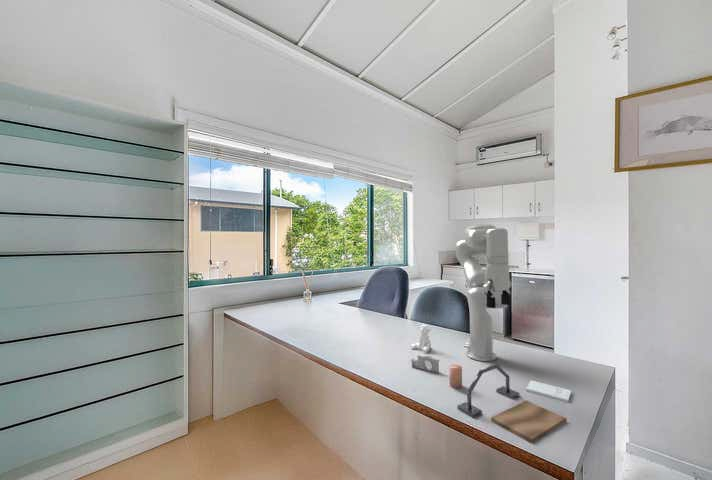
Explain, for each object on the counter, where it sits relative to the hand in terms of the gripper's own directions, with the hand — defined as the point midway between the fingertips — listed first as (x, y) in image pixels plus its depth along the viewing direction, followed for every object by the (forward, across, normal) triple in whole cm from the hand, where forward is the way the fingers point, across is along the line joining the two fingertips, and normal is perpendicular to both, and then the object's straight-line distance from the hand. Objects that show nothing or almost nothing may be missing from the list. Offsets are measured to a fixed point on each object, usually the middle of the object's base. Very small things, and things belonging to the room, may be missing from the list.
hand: (498, 306), depth 119 cm
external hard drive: (+29, -6, +14) cm, 33 cm away
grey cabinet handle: (+29, +17, +6) cm, 34 cm away
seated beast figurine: (+28, -3, -42) cm, 50 cm away
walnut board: (+29, +17, +19) cm, 39 cm away
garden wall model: (+28, +14, -25) cm, 40 cm away
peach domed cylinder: (+28, +16, -8) cm, 33 cm away
